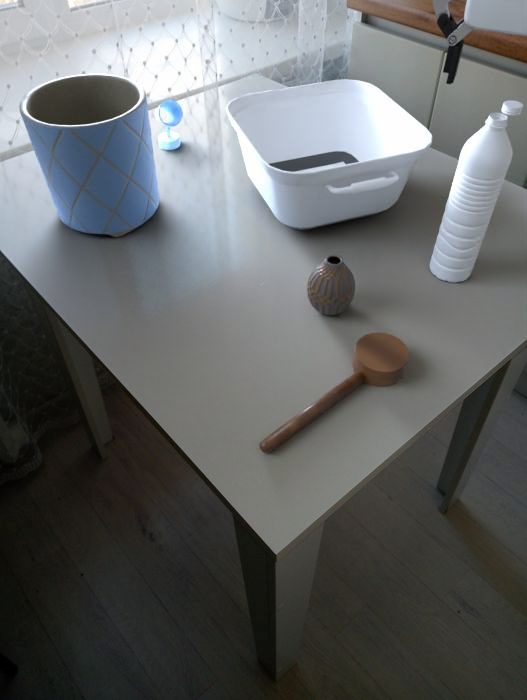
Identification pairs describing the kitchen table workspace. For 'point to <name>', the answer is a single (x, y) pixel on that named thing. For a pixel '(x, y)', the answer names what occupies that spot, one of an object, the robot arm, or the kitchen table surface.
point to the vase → (331, 286)
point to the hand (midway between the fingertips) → (493, 85)
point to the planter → (94, 150)
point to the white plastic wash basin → (327, 150)
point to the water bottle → (473, 197)
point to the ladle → (352, 380)
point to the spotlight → (169, 124)
